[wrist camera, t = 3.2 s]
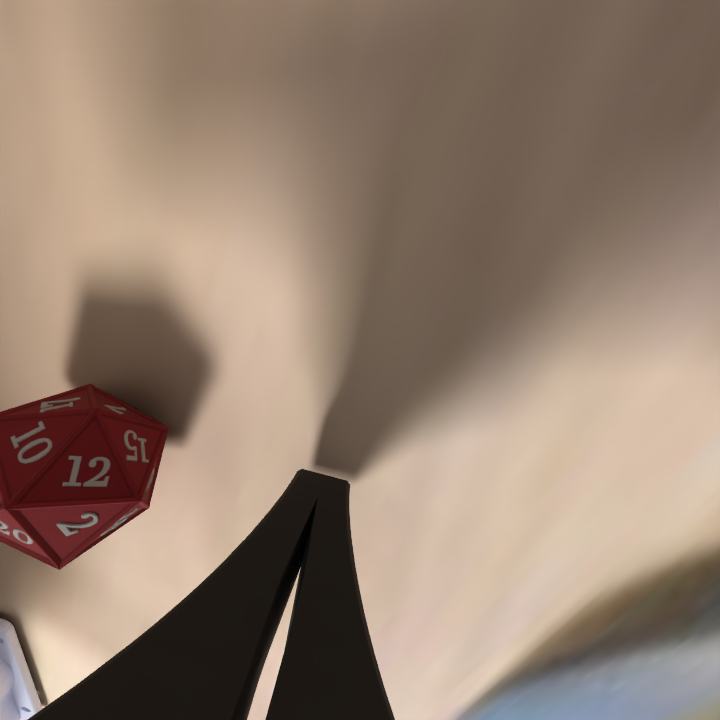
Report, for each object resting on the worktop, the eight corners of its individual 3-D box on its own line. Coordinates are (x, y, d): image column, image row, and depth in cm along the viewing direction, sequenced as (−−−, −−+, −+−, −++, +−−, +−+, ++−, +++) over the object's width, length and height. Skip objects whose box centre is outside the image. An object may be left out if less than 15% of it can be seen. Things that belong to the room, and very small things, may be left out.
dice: (54, 437, 12) (-97, 550, 8) (86, 329, 10) (-93, 415, 7) (164, 495, 13) (64, 624, 9) (214, 403, 11) (113, 520, 7)
